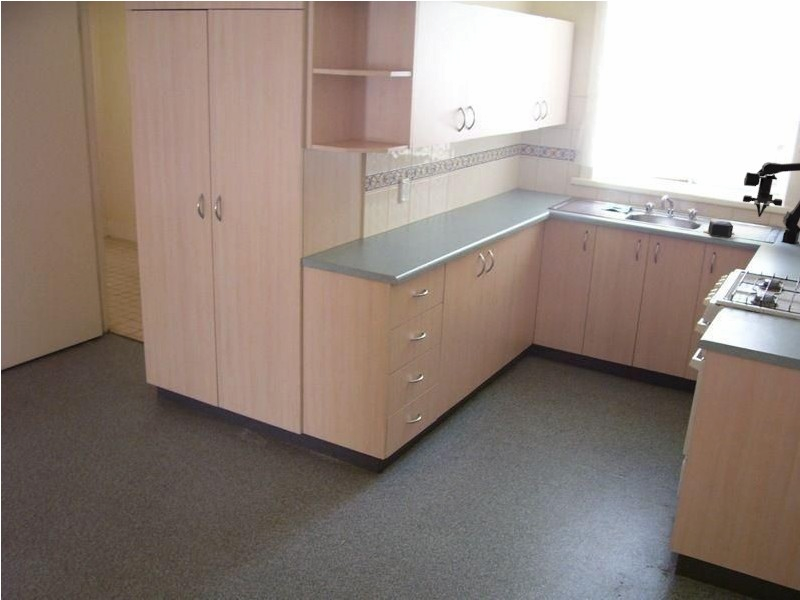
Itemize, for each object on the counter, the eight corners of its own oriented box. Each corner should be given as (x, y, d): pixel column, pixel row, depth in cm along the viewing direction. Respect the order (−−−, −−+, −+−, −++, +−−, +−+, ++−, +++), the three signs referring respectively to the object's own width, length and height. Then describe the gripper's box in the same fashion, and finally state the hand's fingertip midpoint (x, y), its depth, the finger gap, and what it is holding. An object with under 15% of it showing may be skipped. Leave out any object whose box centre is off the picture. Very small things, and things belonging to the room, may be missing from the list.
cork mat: (734, 233, 427) (734, 232, 427) (722, 236, 419) (722, 235, 419) (715, 229, 435) (715, 228, 435) (703, 232, 427) (703, 231, 427)
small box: (733, 225, 413) (712, 224, 415) (731, 237, 415) (710, 236, 417) (729, 221, 423) (709, 220, 425) (728, 233, 425) (707, 231, 427)
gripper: (745, 187, 405) (739, 217, 410) (784, 191, 398) (778, 221, 403) (745, 184, 415) (740, 213, 420) (784, 188, 408) (778, 218, 413)
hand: (759, 216), depth 414 cm, fingers closed
